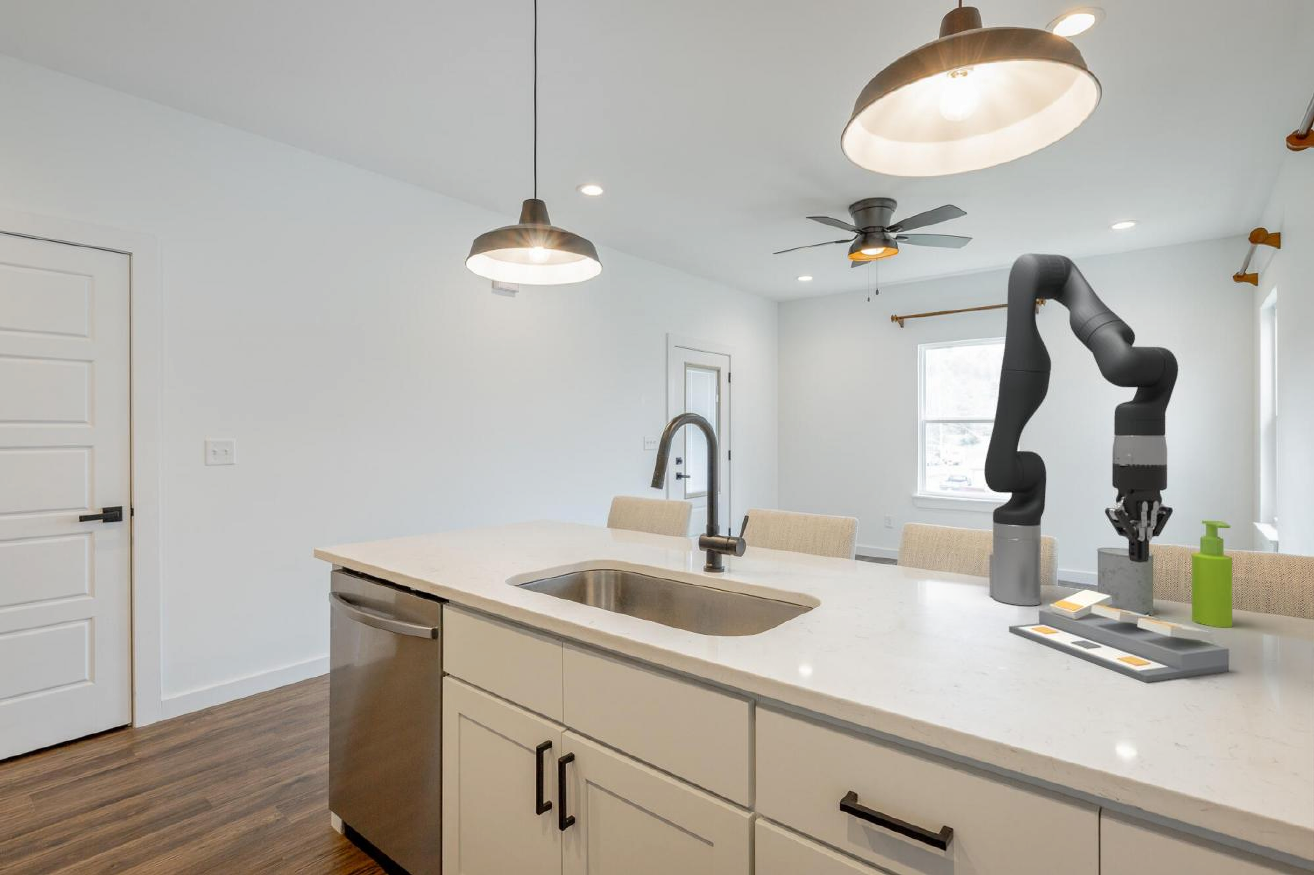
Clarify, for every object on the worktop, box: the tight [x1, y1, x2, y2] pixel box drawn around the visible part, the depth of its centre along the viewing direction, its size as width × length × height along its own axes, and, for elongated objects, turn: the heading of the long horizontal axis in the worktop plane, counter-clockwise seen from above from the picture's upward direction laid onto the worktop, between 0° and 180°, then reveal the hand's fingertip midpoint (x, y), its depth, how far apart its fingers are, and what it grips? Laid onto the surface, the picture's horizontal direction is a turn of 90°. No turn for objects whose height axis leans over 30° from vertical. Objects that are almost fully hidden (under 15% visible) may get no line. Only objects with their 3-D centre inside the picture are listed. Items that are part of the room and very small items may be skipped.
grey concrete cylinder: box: [1096, 547, 1155, 616], centre depth 131 cm, size 10×10×12 cm
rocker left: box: [1049, 589, 1113, 620], centre depth 115 cm, size 5×9×2 cm, turn 105°
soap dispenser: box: [1191, 520, 1233, 628], centre depth 121 cm, size 6×7×20 cm
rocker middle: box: [1091, 605, 1161, 624], centre depth 107 cm, size 5×9×2 cm, turn 105°
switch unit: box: [1008, 608, 1230, 683], centre depth 106 cm, size 25×17×4 cm
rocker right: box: [1137, 618, 1214, 642], centre depth 99 cm, size 5×9×2 cm, turn 105°
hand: (1138, 561), depth 108 cm, fingers closed
